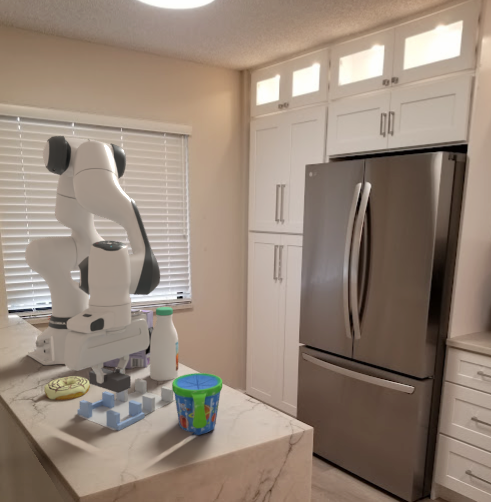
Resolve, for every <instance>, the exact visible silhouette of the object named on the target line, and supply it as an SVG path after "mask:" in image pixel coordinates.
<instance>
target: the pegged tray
mask: <svg viewBox="0 0 491 502" xmlns="http://www.w3.org/2000/svg"><path fill="white" fill-rule="evenodd" d="M147 384H148V383H147V380H145V379H141V378H135V379H134V391H133V392H131V393H129V389H127V390H124V391H122V392H119V393H117V392H115V393H112V392H110V391H107V390H106V391H103V392H102V393H101V398H102V399H100V400H97V401H95V402H90V401H87V400H86V399H82V400H80V401H79V408H77V417H80V418H83V419H85V420H87V421H90V422H92V423H95V424H98V425H100V426H103V427H105V428H106V429H110V430H112V431H121V430H123V429H125V428H126V427H129V426H131V425H133V424H135V423H137V422H139V421H141V420H143V419H145V416H147V415H148V414H151V413H152V412H155V411H156V410H159V409H161V408H163V407H165V406H167V405H169V404H171V403H173V402H176V401H175V400H174V392H173V389H172V387H168V386H165V385H163V386H161V387H160V392H161V393H160V395H159V394H156V393H152V392H148V391H147V387H148V386H147Z"/></svg>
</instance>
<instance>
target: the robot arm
mask: <svg viewBox="0 0 491 502" xmlns="http://www.w3.org/2000/svg"><path fill="white" fill-rule="evenodd" d="M42 159H43V162H44V164H45V168H46V169H47V170H48V172H50V173H53V174H55V175H57V176H58V182H57V186H56V197H55V205H54V206H55V209H54V216H55V219H56V220H57V222H59V223H60V224H61V225H62V226H65V227H66V228H68V229H70V230H71V235H70V236H46V237H39V238H37V239H32V240H31V241H30V242H29V243H28V244H27V246H26V248H25V252H24V257H25V262H26V264H27V265H28V267H29V268H30V269H31V270H32V271H34V272H36V273H37V274H38V275H40V277H42V279H43V280H44V281H45V283H46V284H47V286H48V289H49V292H50V300H51V302H50V303H51V315H48V316H47V317H48V318H47V320H48V324H47V326H48V327H46V328H45V329H44V330H43V331H42V332H41V333H40V334H38V335H37V337H36V339H35V340H36V341H35V349H32V350H29V352H28V353H27V356H28V357H30V358H32V359H33V360H35V361H37V362H38V363H40V364H41V365H44V366H51V365H52V366H53V365H65V366H66V367H67V368H68V369H70V370H73V371H77V372H78V371H82V370H85V369H88V368H91V369H92V371H94V372H95V374H96V379H97V382H98V383H100V384H101V383H104V382H106V381H107V374H106V373H103V371H102V369H101V368H104V366H103V363H104V362H107V361H110V360H114V359H117V358H118V359H120V361H119V364H118V366H117V367H116V368H114V371H115V372H118V373H122V374H125V375H126V368H125V367H126V365H127V363H128V361H129V354H132V353H136V352H139V351H142V350H145V349H147V348H148V346H149V344H150V339H149V330H148V324H147V316H146V314H145V313H144V312H143V311H142V310H143V309H138V310H137V311H134V312H131V309H132V298H131V295H134V296H138V295H140V296H142V295H143V296H148V295H149V294H150V293H152V292H153V291H154V290H156V288H158V286H159V284H160V282H161V271H160V266H159V263H158V260H157V258H156V255H155V254H154V252H153V250H152V247H151V244H150V241H149V238H148V233H147V231H146V228H145V225H144V222H143V219H142V216H141V213H140V210H139V208H138V205H137V202H136V201H135V200H134V199H133V198H132V197H130V196H129V195H128V194H127V193H125V191H124V190H123V188H122V186H121V185H120V180H119V179H121V178H122V177H123V176H124V174H125V171H126V169H127V157H126V153H125V150H124V149H123V148H122V147H121V146H119V145H116V144H114V143H107V142H104V141H99V140H96V139H91V138H87V139H86V138H80V137H66V136H64V135H55V136H51V137H49V138H47V140H46V143H45V144H44V147H43V151H42ZM95 216H97V217H99V218H104V219H107V220H110V221H113V222H115V223H116V224H118V225H120V226H121V227H122V228H123V229H124V230H125V232H126V234H127V238H128V242H129V244H130V249H131V252H132V253H129V248H128V245H127V244H126V243H124V242H122V241H116V240H105V239H104V238H103V237H102V236H101V235H100V233H98V230H97V228H96V226H95ZM75 271H77V272H78V271H79V281H76V280H74V279H73V278H72V275H71V272H75ZM142 313H143V314H142Z"/></svg>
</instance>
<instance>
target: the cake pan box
mask: <svg viewBox="0 0 491 502" xmlns="http://www.w3.org/2000/svg"><path fill="white" fill-rule="evenodd" d="M137 310H139V309H138V308H137V309H134V308H131V312H134V311H137ZM141 310H142V311H143V312H144V313H145V314H146V316H147V324H148V330H149V339H150V340H151V334H152V331H153V329H154V310H149V309H147V310H146V309H141ZM142 314H143V313H142ZM119 361H120V359H118V358H117V359H114V360H110V361H107V362H104V363H103V367H107V368H108V367H110V368H114V369H115V368H116V367H117V366H118V364H119ZM148 366H149V367H150V344H149V346H148V348H147V349H145V350H142V351H139V352H136V353H132V354H129V361H128V363H127V365H126V367H125V369H128V370H129V369H130V370H132V369H134V368H147V367H148Z"/></svg>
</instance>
